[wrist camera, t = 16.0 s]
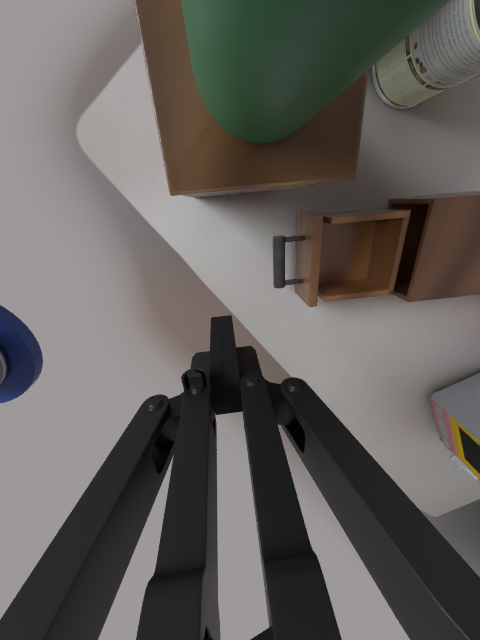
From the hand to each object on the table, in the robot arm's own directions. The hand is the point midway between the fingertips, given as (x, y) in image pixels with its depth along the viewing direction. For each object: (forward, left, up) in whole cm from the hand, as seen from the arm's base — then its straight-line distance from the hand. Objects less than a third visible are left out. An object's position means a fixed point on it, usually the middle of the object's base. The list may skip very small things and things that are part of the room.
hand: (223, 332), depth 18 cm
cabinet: (+33, +1, -22) cm, 39 cm away
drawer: (+16, +1, -21) cm, 26 cm away
